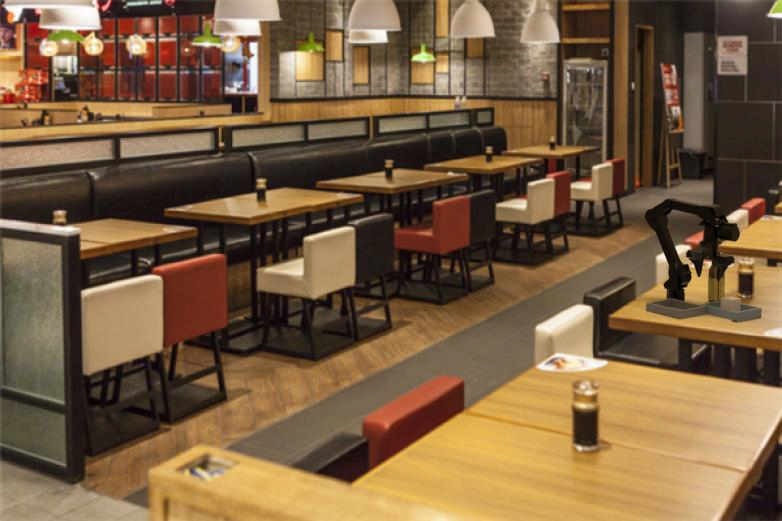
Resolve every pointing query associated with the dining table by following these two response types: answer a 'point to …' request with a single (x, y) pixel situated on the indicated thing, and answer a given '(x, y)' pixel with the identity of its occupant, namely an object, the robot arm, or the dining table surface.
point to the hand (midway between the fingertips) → (708, 279)
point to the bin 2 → (745, 312)
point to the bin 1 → (675, 308)
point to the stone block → (731, 303)
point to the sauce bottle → (715, 284)
